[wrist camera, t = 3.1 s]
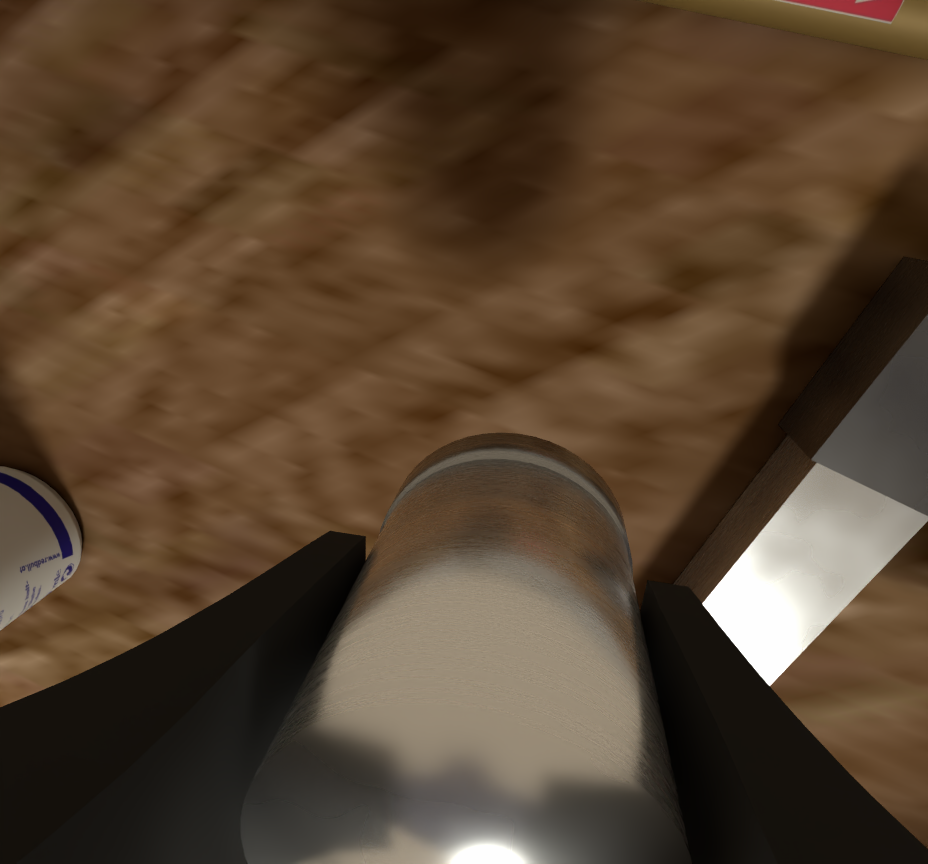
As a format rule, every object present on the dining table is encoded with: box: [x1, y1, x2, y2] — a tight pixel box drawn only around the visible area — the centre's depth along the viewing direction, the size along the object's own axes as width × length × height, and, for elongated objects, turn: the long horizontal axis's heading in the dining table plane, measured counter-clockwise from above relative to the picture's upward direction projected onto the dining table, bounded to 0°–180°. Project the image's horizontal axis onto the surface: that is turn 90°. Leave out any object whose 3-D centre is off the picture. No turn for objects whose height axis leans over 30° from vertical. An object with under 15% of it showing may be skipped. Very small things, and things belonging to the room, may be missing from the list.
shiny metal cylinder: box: [241, 433, 692, 864], centre depth 8 cm, size 4×4×6 cm
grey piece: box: [674, 257, 928, 686], centre depth 19 cm, size 27×10×3 cm, turn 156°
